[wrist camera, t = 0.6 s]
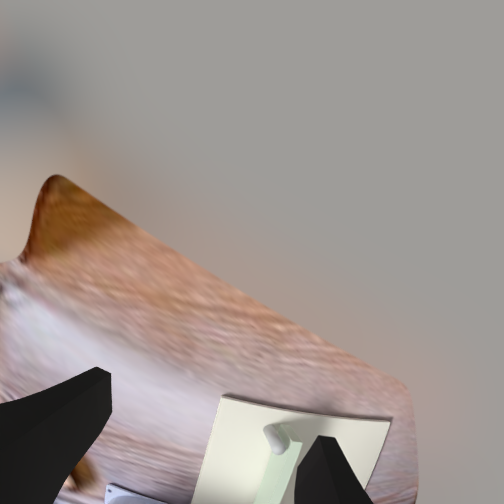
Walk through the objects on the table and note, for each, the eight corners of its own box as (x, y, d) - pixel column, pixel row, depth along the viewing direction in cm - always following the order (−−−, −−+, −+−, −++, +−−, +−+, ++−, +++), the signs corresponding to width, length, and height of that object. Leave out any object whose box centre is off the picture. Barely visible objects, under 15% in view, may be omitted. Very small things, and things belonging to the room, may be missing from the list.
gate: (256, 517, 24) (262, 541, 19) (248, 516, 24) (252, 540, 19) (290, 425, 27) (302, 442, 22) (280, 424, 27) (292, 441, 22)
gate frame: (338, 531, 25) (356, 556, 18) (186, 518, 24) (182, 549, 18) (386, 420, 29) (416, 434, 23) (221, 395, 28) (222, 413, 22)
